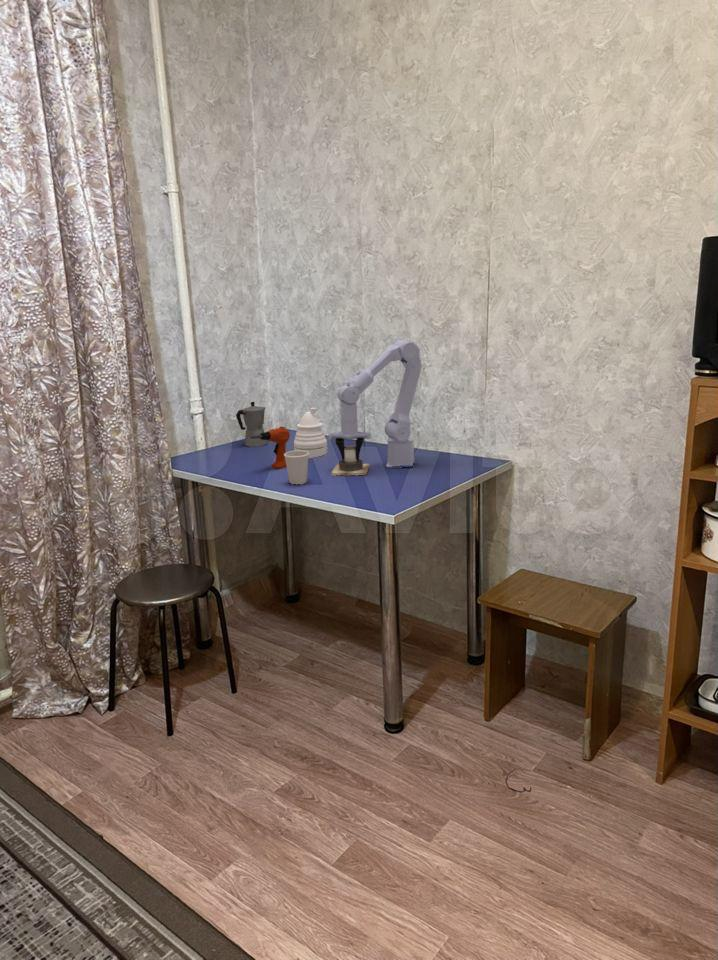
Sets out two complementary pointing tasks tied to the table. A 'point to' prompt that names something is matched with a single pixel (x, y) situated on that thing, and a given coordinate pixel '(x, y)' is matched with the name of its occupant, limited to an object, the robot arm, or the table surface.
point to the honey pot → (310, 435)
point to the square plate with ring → (350, 468)
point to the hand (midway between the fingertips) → (350, 459)
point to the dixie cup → (297, 466)
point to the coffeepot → (252, 424)
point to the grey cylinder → (350, 454)
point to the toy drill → (280, 438)
